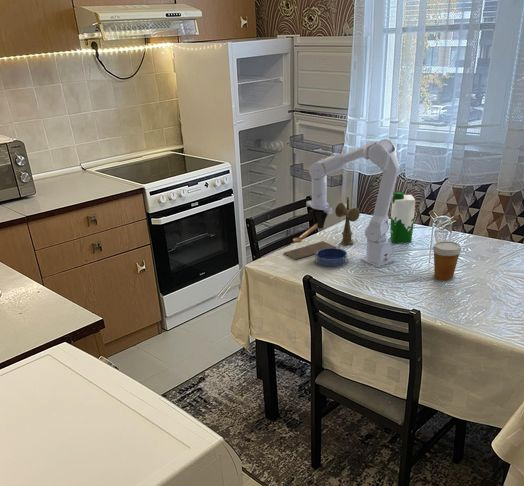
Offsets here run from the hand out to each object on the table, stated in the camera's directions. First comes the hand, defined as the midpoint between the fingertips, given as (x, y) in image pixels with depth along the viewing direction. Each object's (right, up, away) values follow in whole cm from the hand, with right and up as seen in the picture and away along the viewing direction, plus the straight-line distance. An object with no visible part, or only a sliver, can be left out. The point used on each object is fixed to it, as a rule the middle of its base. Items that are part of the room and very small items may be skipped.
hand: (319, 227), depth 216 cm
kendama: (+13, -5, +11) cm, 18 cm away
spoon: (-5, -4, -1) cm, 6 cm away
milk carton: (+36, -3, +12) cm, 37 cm away
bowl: (+4, -14, -4) cm, 16 cm away
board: (-3, -9, +6) cm, 11 cm away
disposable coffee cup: (+42, -23, -22) cm, 53 cm away
